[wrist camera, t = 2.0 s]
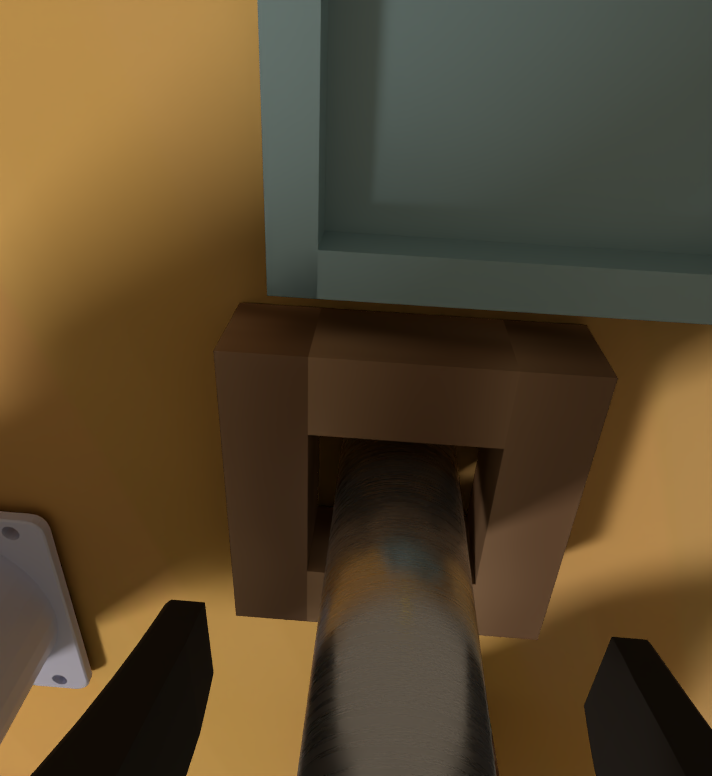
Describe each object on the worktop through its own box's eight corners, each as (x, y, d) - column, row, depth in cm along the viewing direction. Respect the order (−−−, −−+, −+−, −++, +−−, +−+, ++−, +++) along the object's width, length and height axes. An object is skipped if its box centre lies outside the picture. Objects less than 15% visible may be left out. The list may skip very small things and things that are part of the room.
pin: (339, 490, 17) (291, 875, 10) (343, 400, 16) (289, 772, 8) (447, 499, 17) (486, 894, 9) (462, 408, 16) (522, 793, 8)
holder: (254, 549, 19) (236, 615, 17) (239, 302, 14) (213, 350, 12) (522, 569, 18) (537, 639, 16) (586, 325, 14) (617, 378, 12)
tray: (281, 264, 14) (267, 296, 12) (273, -225, 10) (249, -269, 8) (781, 296, 14) (830, 332, 12) (993, -194, 9) (1109, -235, 8)
